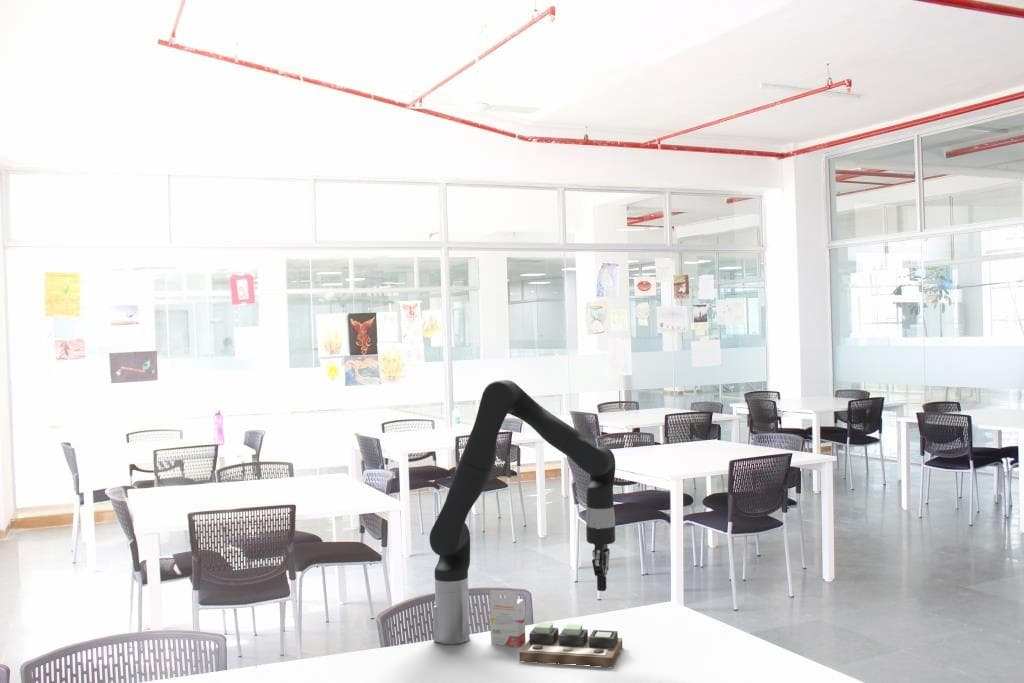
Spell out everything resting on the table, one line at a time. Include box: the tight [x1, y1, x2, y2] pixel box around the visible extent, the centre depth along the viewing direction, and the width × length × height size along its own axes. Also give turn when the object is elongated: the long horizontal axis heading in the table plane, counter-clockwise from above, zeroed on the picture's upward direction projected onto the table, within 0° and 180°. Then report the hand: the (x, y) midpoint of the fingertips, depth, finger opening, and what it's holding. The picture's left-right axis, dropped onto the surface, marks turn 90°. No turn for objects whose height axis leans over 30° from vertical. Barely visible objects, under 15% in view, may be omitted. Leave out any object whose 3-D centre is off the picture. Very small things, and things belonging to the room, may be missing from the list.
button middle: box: [563, 623, 583, 636], centre depth 246 cm, size 4×4×2 cm
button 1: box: [534, 622, 554, 634], centre depth 248 cm, size 4×4×2 cm
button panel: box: [519, 627, 623, 668], centre depth 244 cm, size 24×16×5 cm, turn 74°
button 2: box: [594, 632, 612, 638], centre depth 244 cm, size 4×4×2 cm
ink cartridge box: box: [489, 590, 527, 648], centre depth 255 cm, size 9×5×15 cm, turn 68°
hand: (601, 590), depth 244 cm, fingers closed
